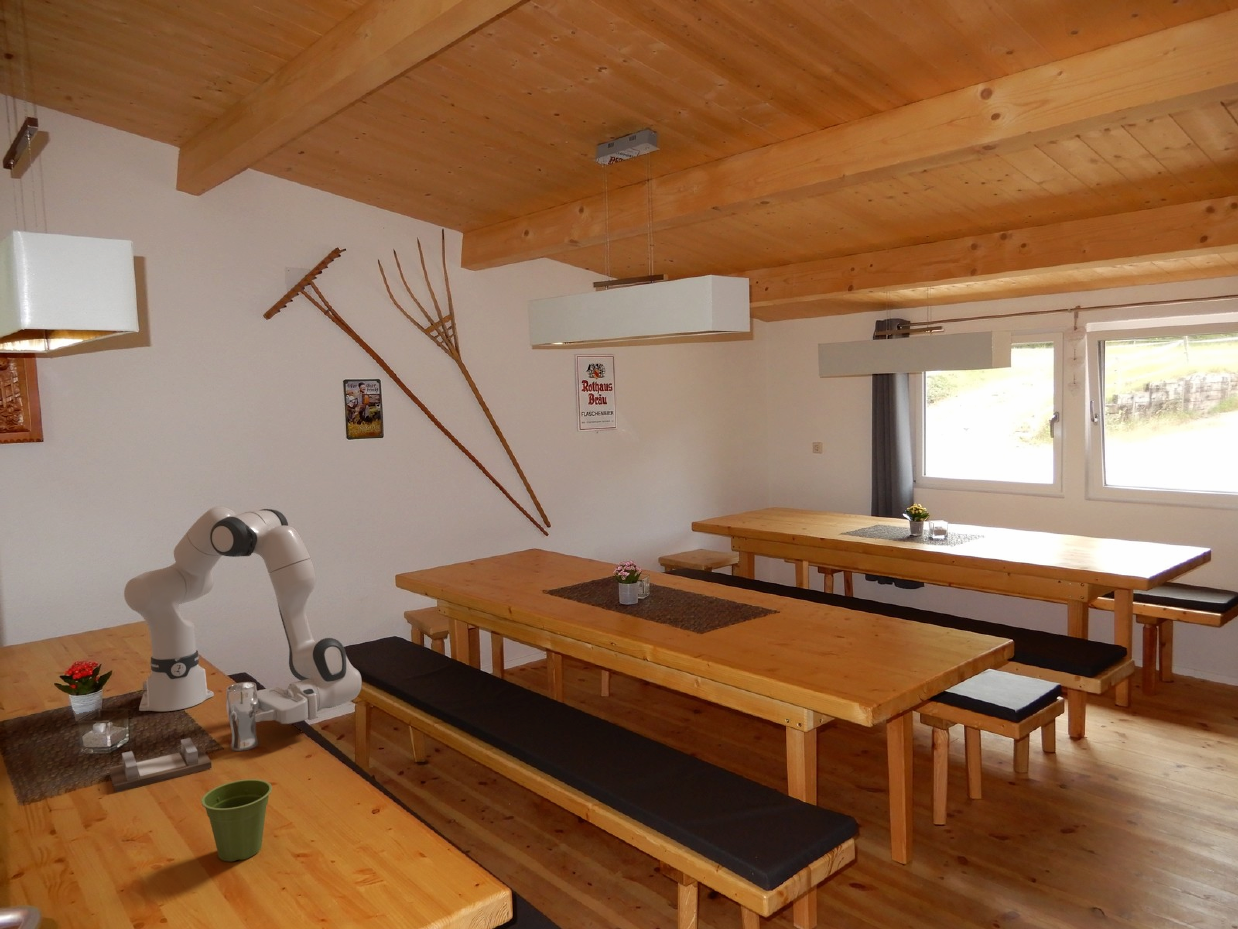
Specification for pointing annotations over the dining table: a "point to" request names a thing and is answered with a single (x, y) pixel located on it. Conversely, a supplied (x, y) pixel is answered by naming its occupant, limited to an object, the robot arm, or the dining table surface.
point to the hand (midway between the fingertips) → (245, 713)
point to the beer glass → (242, 715)
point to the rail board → (158, 767)
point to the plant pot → (237, 817)
